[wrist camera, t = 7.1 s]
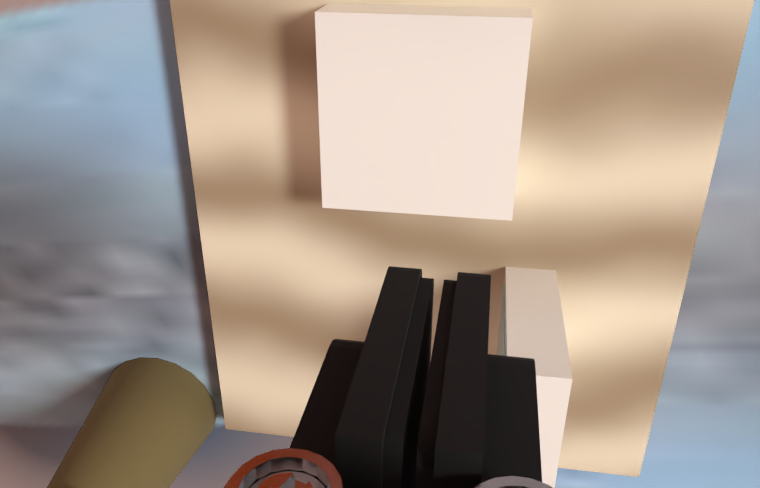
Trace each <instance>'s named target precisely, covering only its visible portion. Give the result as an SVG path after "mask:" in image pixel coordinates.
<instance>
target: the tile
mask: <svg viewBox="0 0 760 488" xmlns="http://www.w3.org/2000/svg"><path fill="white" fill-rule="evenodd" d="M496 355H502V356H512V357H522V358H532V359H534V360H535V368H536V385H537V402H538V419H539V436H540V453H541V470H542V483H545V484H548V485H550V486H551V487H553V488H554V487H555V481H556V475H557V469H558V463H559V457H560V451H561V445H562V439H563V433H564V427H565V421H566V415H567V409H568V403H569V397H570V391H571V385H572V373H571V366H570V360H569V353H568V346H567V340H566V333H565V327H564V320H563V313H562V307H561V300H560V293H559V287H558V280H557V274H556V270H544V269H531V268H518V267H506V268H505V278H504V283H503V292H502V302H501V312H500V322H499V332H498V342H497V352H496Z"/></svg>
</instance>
